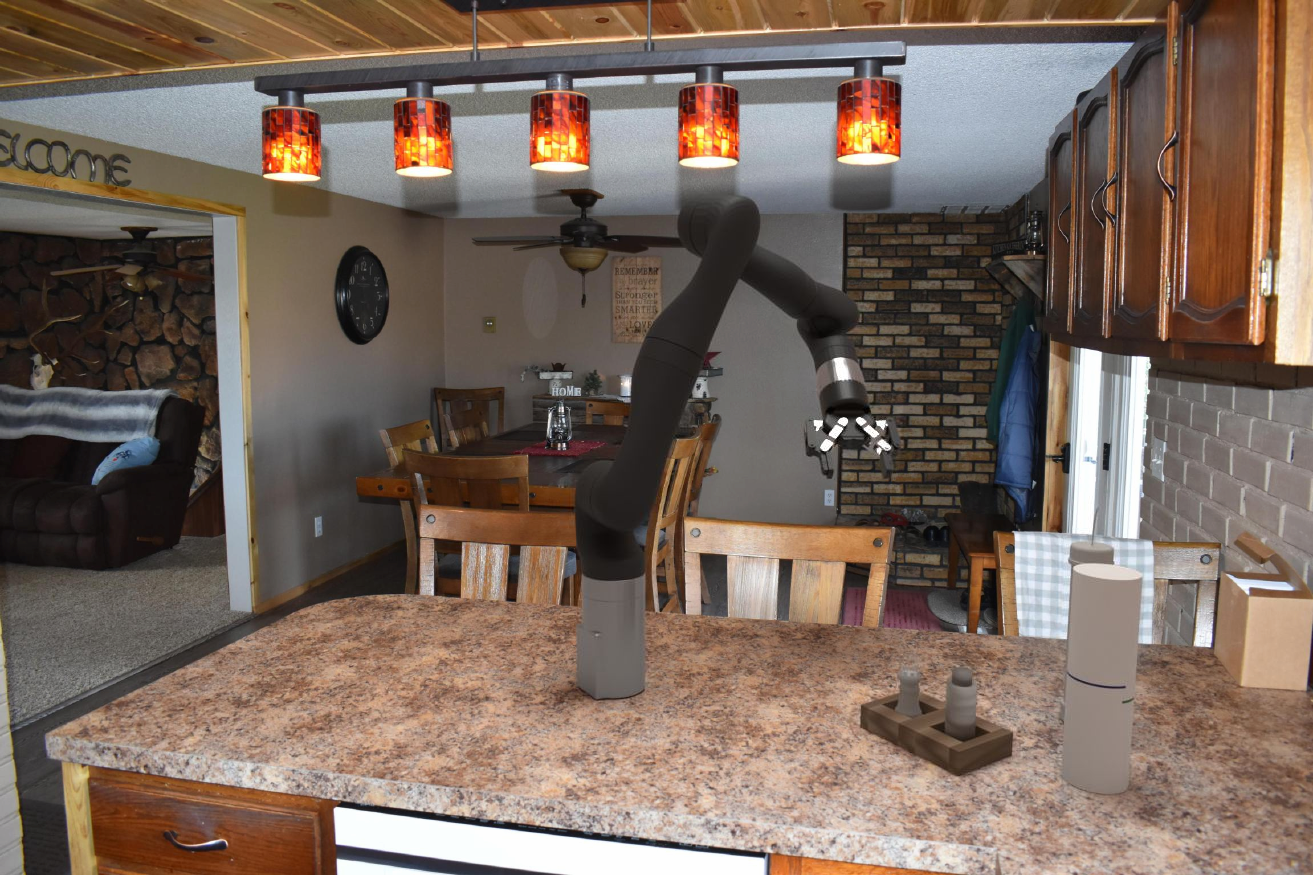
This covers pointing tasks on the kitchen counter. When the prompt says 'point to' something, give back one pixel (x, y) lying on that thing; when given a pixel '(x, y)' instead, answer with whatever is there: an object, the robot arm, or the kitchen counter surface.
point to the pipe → (1078, 555)
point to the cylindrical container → (1101, 677)
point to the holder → (942, 727)
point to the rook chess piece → (909, 692)
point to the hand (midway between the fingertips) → (859, 475)
